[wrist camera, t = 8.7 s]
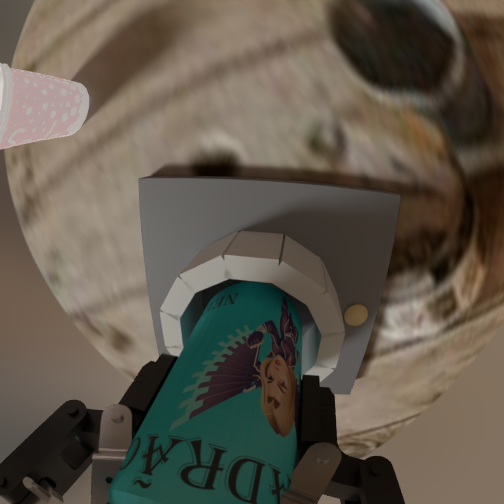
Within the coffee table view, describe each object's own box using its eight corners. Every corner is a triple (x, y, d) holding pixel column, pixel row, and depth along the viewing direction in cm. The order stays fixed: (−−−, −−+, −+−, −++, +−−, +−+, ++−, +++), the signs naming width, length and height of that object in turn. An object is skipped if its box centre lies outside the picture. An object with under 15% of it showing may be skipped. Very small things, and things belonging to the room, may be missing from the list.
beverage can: (321, 306, 17) (328, 578, 3) (266, 360, 19) (220, 573, 5) (243, 251, 16) (103, 532, 2) (196, 315, 18) (80, 522, 5)
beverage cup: (44, 145, 18) (-91, 176, 5) (53, 79, 16) (-81, 78, 3) (91, 145, 18) (-76, 178, 5) (102, 69, 16) (-58, 47, 3)
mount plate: (149, 176, 18) (100, 188, 13) (393, 191, 16) (429, 210, 11) (168, 359, 24) (143, 402, 19) (347, 382, 22) (353, 432, 17)
